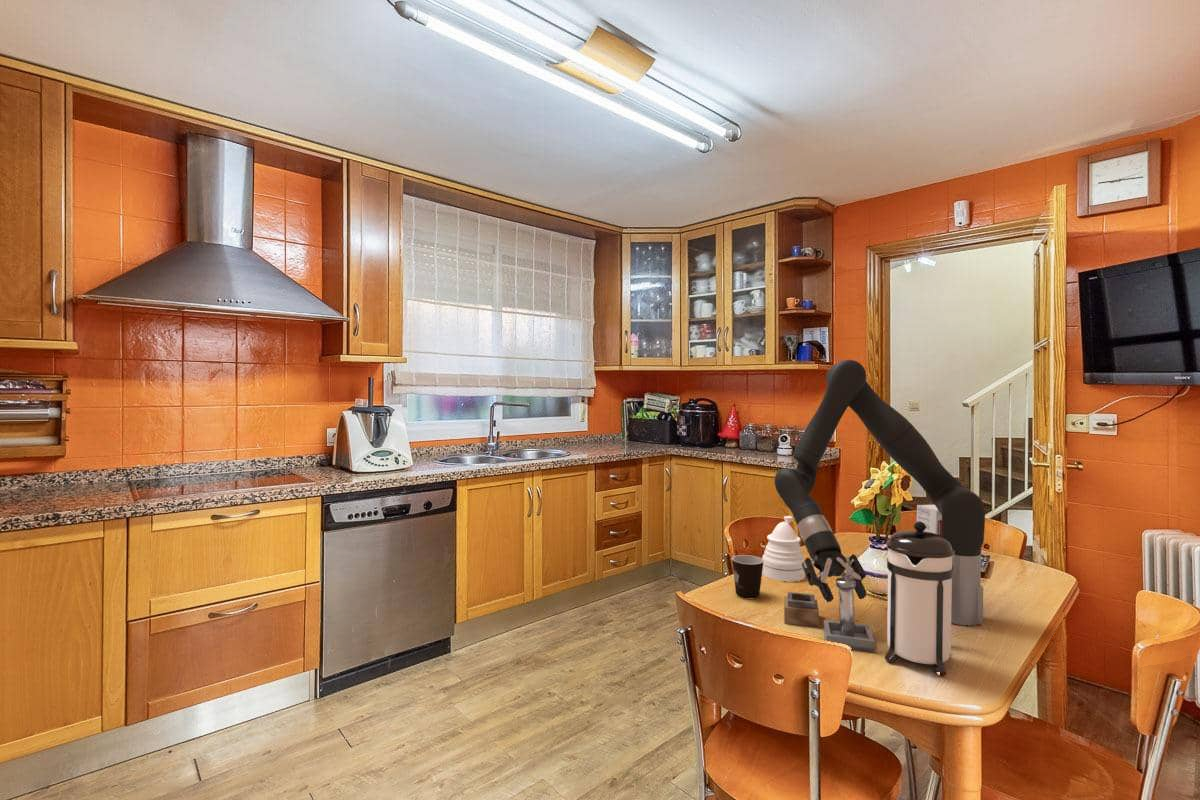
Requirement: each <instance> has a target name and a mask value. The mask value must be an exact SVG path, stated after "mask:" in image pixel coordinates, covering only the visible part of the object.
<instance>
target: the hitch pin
mask: <svg viewBox="0 0 1200 800" xmlns="http://www.w3.org/2000/svg"><path fill="white" fill-rule="evenodd" d="M835 587H836V588H838V589H837V590H838V609H839V611H838V613H839V614H838V615H839V622H840V635H841V636H849V637H855V624H856V622H855V619H856V618H855V617H856V616H855V600H854V599H855V596H854V595H855V594H854V588H855V587H856V582H855V580H853V579H851V578H843V577H837V578H836V579H835Z"/></svg>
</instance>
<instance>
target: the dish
mask: <svg viewBox="0 0 1200 800" xmlns="http://www.w3.org/2000/svg"><path fill="white" fill-rule="evenodd" d="M823 634H824V640H827V641H831V642H837V643H842V644H846V645H848V646H850V647H851V648H852V650H853V651H859V652H868V653H874V652H875V651H876V649H875V648H876V640H875V638H874V636H873V632H872V631H871V627H870V625H869V624H861V623H855V637H849V636H841V635H840V621H837V620H836V621H834V620H826V619H825V620H824V619H823ZM852 650H851V651H852Z"/></svg>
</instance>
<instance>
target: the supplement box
mask: <svg viewBox="0 0 1200 800" xmlns="http://www.w3.org/2000/svg"><path fill="white" fill-rule="evenodd" d="M919 521H920V522H923V523H924V524H925V526H926V529H925V530H924V531H925V532H931V533H934V534H938V535H940V536H941V527H942V515H941V513H940V512H939V511H938V509H937V507H936V506H935V504H917V505H916V522H919Z"/></svg>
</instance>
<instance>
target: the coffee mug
mask: <svg viewBox="0 0 1200 800" xmlns="http://www.w3.org/2000/svg"><path fill="white" fill-rule="evenodd" d="M731 559H732V561H731V562H732V569H733V578H734V579H733V581H734V587H735V595H736V594H737V595H738V596H737V595H736V596H737V597H739V596H740V597H739V598H741V597H743V598H742V599H745V598H755V599H758V598H759V597H760V594H761V586H762V576H763V574H762V570H763V562H764V560H763V559H762V557H758V556H755V555H748V554H740V555H739V554H738V555H734V556H733V557H732V558H731ZM757 597H758V598H757Z"/></svg>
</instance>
